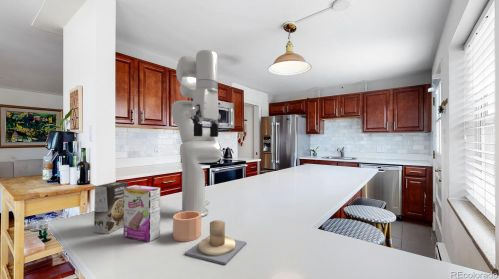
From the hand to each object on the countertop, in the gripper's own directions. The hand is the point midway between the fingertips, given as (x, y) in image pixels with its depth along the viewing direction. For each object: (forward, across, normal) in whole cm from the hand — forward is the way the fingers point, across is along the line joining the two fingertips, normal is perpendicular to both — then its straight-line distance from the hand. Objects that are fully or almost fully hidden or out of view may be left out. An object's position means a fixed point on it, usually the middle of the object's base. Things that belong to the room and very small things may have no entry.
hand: (206, 136), depth 79 cm
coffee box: (+34, +11, -33) cm, 48 cm away
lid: (+33, +9, +10) cm, 35 cm away
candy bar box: (+34, +12, -17) cm, 39 cm away
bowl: (+33, +5, -4) cm, 34 cm away
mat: (+33, +9, +10) cm, 36 cm away
